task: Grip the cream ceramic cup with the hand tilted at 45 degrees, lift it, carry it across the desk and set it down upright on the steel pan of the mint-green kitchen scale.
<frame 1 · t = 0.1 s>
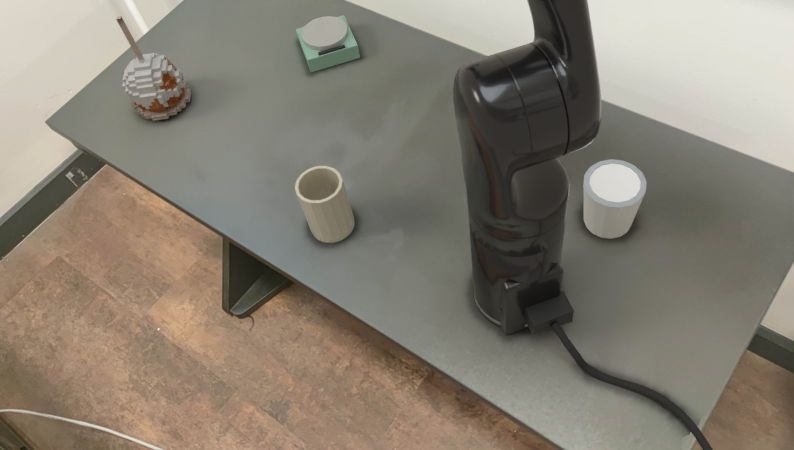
scale: (329, 49, 105), on the table
white cylinder: (607, 220, 83), on the table
cup: (332, 224, 86), on the table
voxel caramel apple: (165, 104, 101), on the table
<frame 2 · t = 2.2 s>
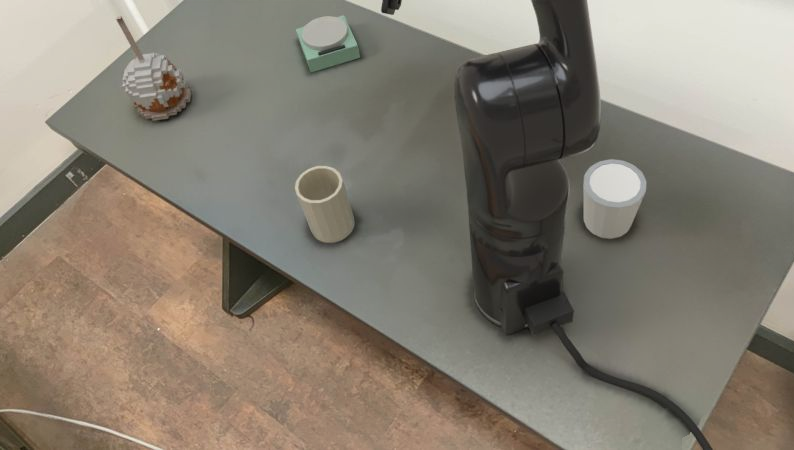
hand: (350, 6, 74), 22 cm above the table, tool tilted 40°, fingers open, 8 cm apart
nothing on the table moved.
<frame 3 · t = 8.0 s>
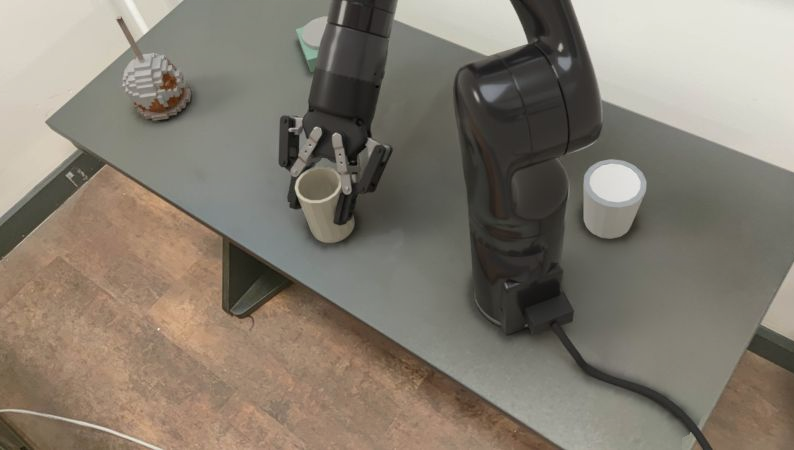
hand: (318, 215, 81), 4 cm above the table, tool tilted 45°, fingers closed on cup, 5 cm apart
cup: (332, 224, 86), on the table, touching gripper
everything else where it was.
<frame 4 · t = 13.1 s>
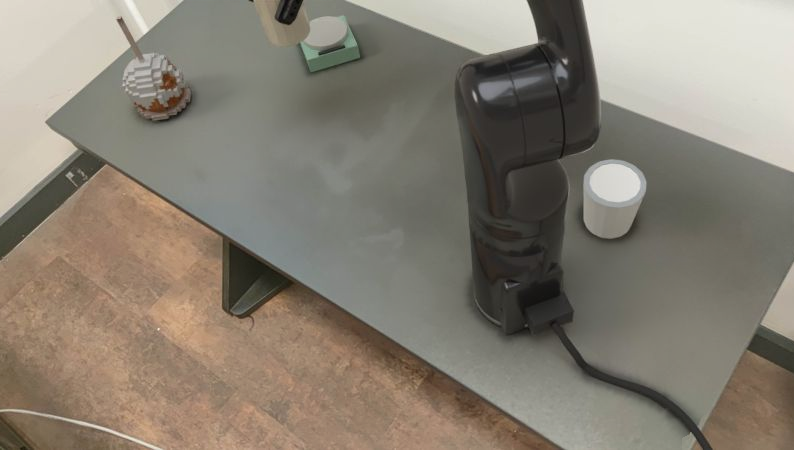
hand: (267, 11, 82), 18 cm above the table, tool tilted 45°, fingers closed on cup, 5 cm apart
cup: (288, 32, 86), point 14 cm above the table, touching gripper
everything else where it was.
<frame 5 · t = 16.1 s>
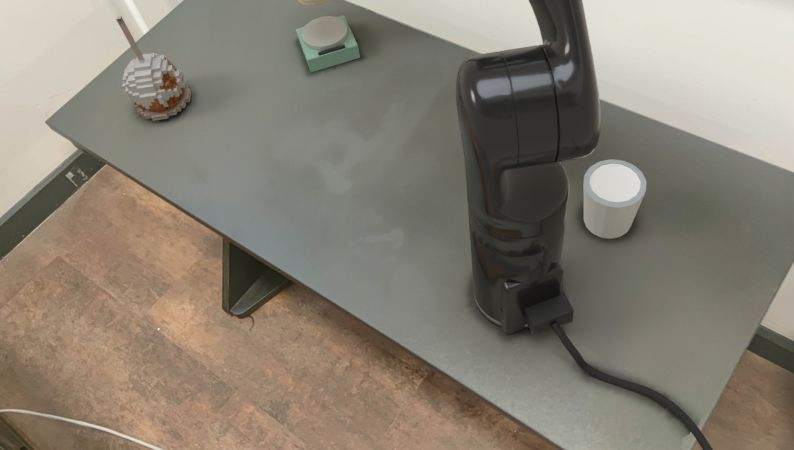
when the fingers open (7 cm above the table, at t = 18.4 s): cup stays where it is, resting on scale.
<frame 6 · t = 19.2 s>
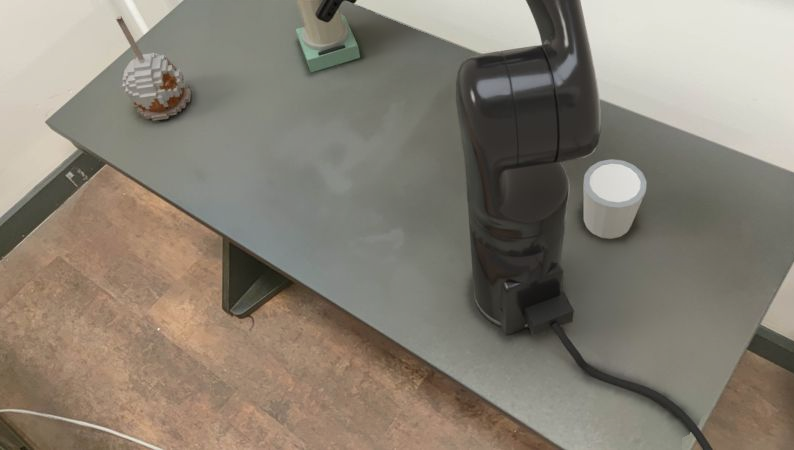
hand: (309, 3, 97), 9 cm above the table, tool tilted 45°, fingers open, 8 cm apart
cup: (325, 32, 102), point 3 cm above the table, touching scale
everything else where it was.
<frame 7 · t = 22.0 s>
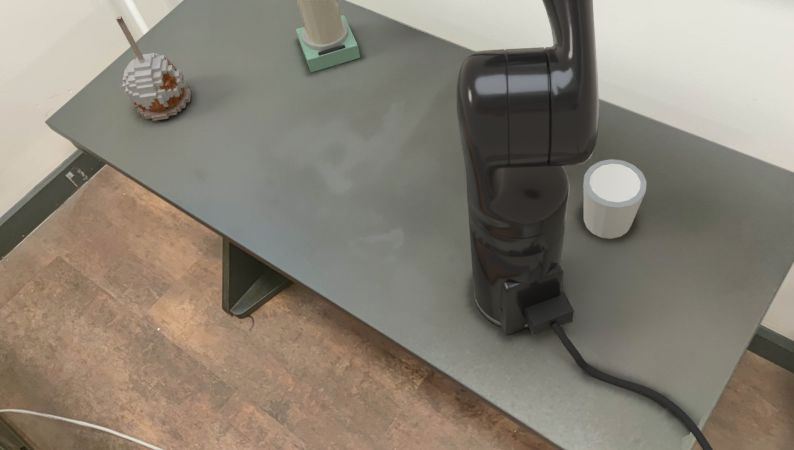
nothing on the table moved.
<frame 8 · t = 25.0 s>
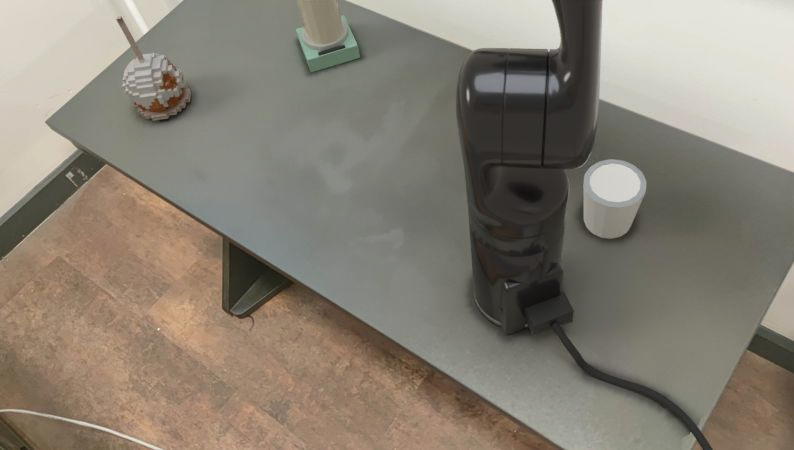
nothing on the table moved.
at the end: cup 0.3 cm off-centre on the scale, point 3.2 cm above the scale's base; cup tilted 0°; the gripper is holding nothing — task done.
